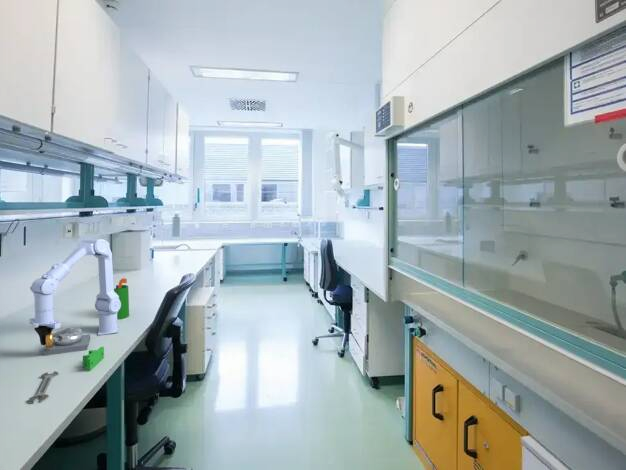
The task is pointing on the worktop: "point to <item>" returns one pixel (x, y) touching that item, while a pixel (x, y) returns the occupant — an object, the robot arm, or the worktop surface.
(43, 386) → the wrench
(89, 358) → the pipe clamp
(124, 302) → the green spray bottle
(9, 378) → the worktop surface
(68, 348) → the base plate
